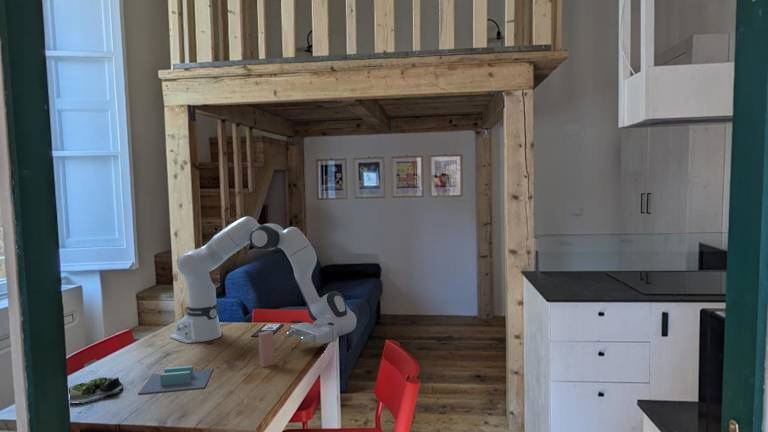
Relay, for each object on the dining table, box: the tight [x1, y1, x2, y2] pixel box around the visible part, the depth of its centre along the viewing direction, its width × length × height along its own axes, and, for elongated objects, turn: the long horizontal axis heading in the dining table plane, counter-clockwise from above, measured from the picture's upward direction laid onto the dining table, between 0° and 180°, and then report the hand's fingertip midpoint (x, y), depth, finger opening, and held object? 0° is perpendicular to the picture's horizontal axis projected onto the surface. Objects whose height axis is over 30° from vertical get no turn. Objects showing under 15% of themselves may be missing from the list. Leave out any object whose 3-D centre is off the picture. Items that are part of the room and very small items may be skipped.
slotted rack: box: [160, 365, 195, 386], centre depth 162 cm, size 9×6×4 cm
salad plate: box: [68, 376, 124, 405], centre depth 153 cm, size 19×18×5 cm
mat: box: [137, 368, 214, 395], centre depth 162 cm, size 20×16×1 cm
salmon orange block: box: [258, 331, 275, 368], centre depth 175 cm, size 4×2×12 cm, turn 135°
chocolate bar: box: [250, 323, 284, 338], centre depth 218 cm, size 9×1×18 cm
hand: (294, 337), depth 184 cm, fingers open, 8 cm apart
